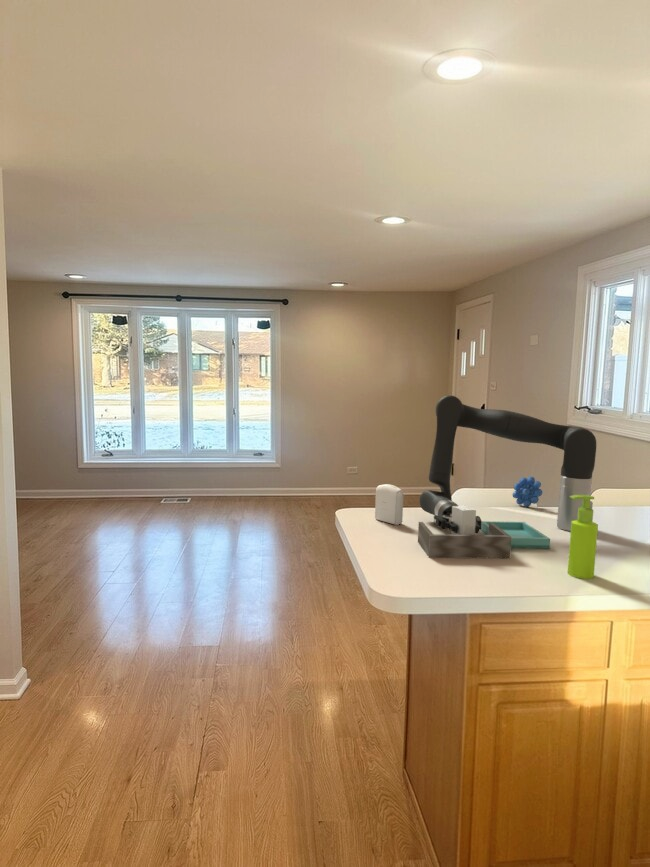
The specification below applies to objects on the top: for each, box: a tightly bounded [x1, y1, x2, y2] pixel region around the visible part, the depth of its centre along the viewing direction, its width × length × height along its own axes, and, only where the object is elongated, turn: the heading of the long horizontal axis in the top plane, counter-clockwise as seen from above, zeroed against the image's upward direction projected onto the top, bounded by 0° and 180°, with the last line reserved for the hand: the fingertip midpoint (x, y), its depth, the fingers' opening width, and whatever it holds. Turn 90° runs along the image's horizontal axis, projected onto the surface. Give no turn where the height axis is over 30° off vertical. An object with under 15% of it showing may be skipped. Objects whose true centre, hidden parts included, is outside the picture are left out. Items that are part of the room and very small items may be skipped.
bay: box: [417, 521, 512, 559], centre depth 149 cm, size 22×14×6 cm, turn 93°
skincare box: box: [451, 504, 477, 535], centre depth 149 cm, size 6×4×12 cm
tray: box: [479, 520, 551, 550], centre depth 161 cm, size 14×18×3 cm
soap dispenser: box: [567, 495, 599, 580], centre depth 132 cm, size 6×7×20 cm
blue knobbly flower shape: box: [512, 476, 543, 508], centre depth 205 cm, size 12×7×12 cm, turn 42°
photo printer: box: [374, 483, 404, 526], centre depth 177 cm, size 10×4×12 cm, turn 39°
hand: (466, 529), depth 146 cm, fingers closed on skincare box, 5 cm apart
